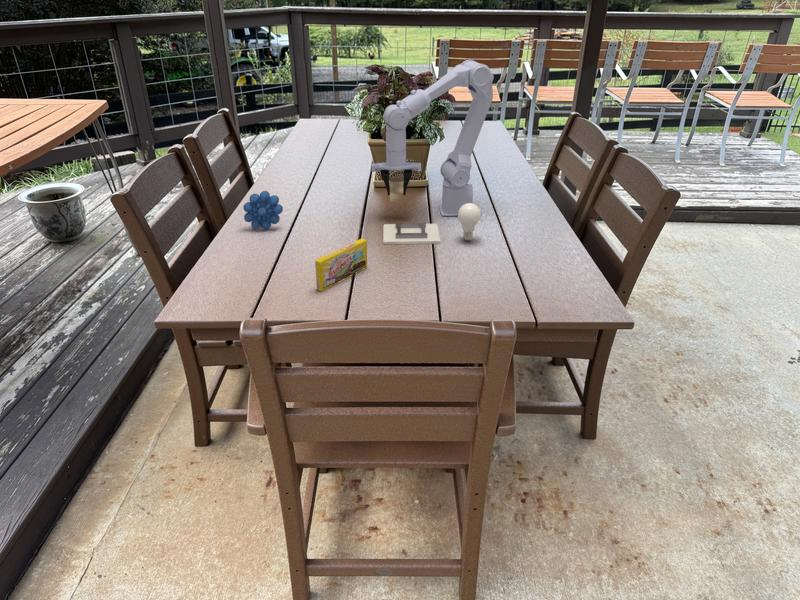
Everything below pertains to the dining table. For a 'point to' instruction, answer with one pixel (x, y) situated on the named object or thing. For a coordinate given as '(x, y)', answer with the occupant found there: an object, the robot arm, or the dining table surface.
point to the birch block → (396, 189)
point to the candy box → (340, 264)
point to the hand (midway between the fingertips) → (396, 194)
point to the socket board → (410, 233)
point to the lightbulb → (469, 219)
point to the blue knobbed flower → (262, 210)
